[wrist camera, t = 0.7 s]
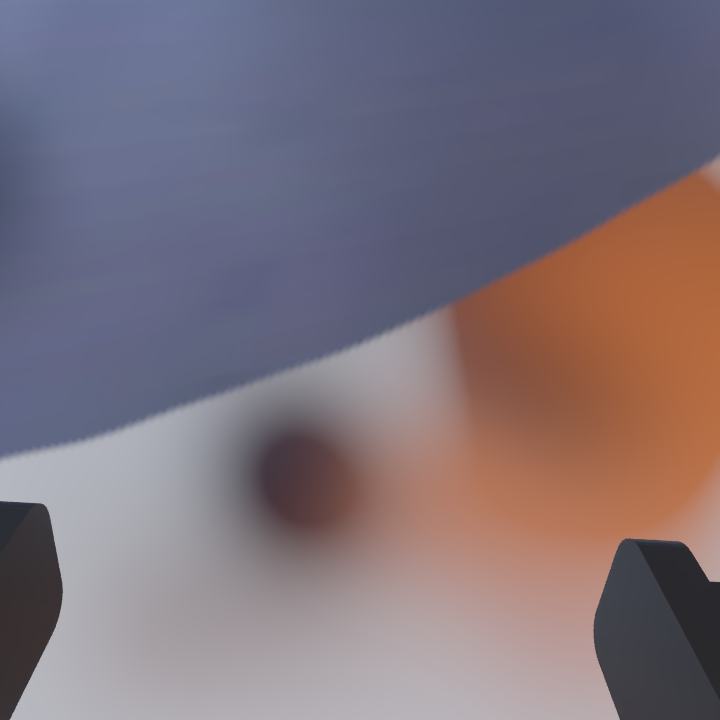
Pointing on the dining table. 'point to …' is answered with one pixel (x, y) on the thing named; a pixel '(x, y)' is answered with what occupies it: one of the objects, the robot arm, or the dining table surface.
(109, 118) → the dining table surface
